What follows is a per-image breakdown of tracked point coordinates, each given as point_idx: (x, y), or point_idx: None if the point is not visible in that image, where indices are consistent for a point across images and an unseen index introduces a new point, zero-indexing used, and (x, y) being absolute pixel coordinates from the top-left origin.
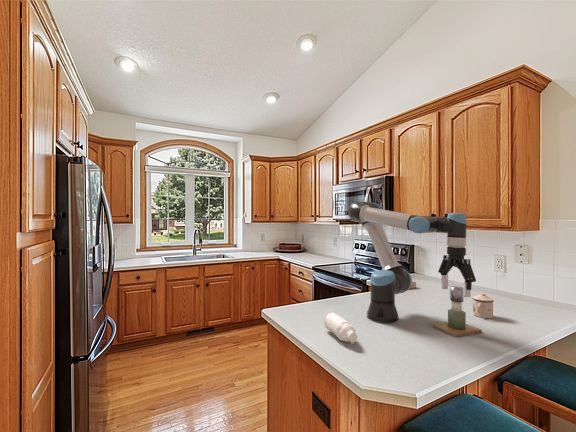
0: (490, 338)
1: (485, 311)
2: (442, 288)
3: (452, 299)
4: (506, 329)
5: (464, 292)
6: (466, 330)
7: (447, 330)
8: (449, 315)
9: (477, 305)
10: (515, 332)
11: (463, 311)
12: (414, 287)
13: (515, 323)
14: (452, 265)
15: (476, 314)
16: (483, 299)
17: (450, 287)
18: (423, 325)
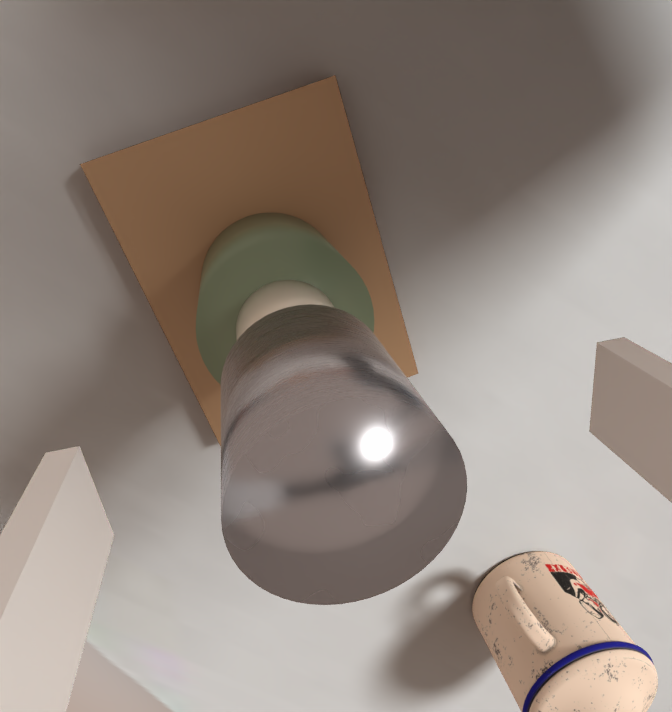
0: (100, 432)
1: (498, 622)
2: (615, 343)
3: (279, 318)
4: (281, 604)
5: (28, 505)
6: (193, 322)
7: (178, 142)
8: (275, 232)
9: (555, 619)
10: (231, 625)
11: None
12: None
13: (378, 688)
14: None
15: (525, 561)
16: (558, 696)
17: (381, 396)
18: (381, 4)
